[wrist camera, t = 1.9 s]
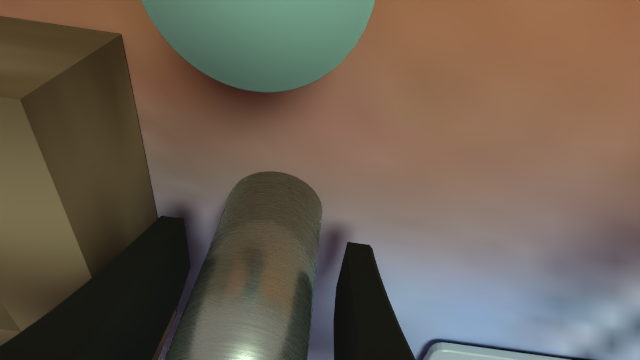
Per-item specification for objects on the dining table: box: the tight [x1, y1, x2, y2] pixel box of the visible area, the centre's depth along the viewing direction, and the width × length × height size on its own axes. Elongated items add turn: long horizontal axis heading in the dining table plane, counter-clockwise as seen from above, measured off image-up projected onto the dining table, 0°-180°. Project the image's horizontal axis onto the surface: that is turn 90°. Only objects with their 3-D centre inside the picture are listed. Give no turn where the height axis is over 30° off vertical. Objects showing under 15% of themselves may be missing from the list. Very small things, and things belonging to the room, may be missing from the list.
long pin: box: [165, 172, 322, 360], centre depth 10 cm, size 3×3×7 cm
